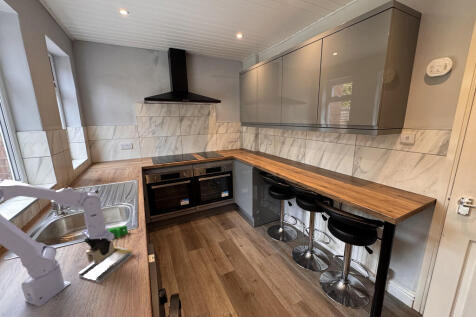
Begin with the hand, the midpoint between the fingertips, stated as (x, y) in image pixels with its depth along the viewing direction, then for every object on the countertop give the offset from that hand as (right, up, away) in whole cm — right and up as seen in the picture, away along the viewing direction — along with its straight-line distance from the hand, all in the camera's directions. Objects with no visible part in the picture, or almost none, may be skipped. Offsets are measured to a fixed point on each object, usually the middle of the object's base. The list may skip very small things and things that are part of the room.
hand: (101, 252), depth 78 cm
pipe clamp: (-9, -3, +23) cm, 25 cm away
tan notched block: (0, -2, 0) cm, 2 cm away
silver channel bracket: (+1, -7, +3) cm, 7 cm away
